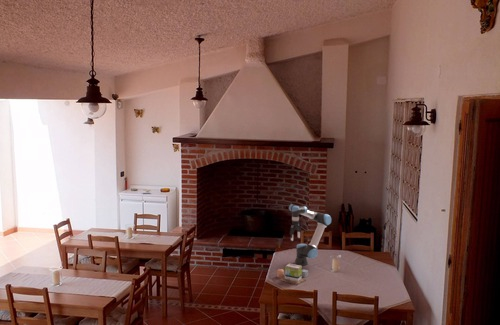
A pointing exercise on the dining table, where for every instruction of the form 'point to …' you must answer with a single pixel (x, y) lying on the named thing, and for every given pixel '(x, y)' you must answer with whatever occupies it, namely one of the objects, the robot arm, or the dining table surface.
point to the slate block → (304, 273)
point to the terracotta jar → (280, 273)
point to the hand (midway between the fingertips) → (295, 239)
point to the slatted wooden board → (293, 281)
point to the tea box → (293, 272)
